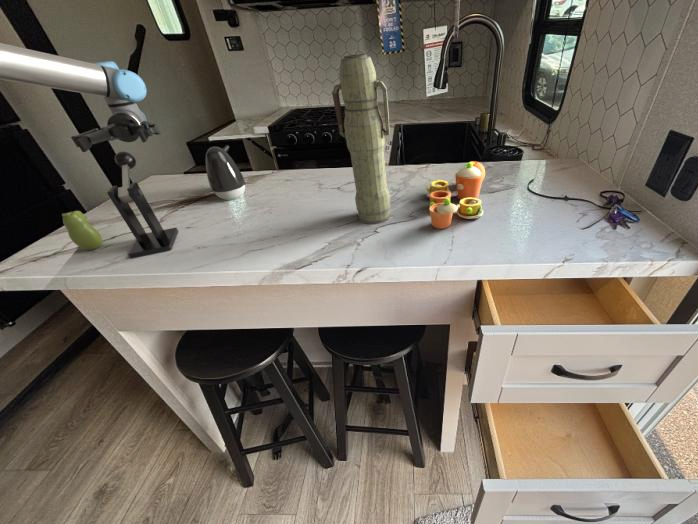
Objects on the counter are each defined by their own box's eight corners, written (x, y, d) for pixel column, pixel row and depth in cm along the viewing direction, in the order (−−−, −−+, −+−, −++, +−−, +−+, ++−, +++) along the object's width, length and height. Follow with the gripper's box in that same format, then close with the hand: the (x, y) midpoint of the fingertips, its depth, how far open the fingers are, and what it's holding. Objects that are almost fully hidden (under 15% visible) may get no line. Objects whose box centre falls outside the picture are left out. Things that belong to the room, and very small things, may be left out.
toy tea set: (426, 191, 101) (426, 157, 95) (479, 189, 100) (481, 155, 93) (424, 232, 81) (423, 193, 75) (489, 231, 79) (494, 191, 73)
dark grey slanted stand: (141, 238, 89) (107, 183, 80) (178, 231, 91) (149, 176, 82) (130, 258, 81) (90, 199, 72) (171, 250, 83) (137, 191, 74)
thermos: (355, 210, 94) (330, 56, 72) (397, 208, 93) (385, 51, 71) (350, 224, 87) (321, 59, 65) (395, 222, 86) (382, 54, 64)
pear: (79, 255, 84) (50, 218, 78) (83, 246, 88) (56, 210, 81) (105, 249, 86) (79, 212, 79) (108, 240, 89) (83, 205, 83)
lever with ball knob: (121, 162, 84) (110, 149, 80) (139, 159, 85) (129, 146, 81) (122, 206, 79) (110, 195, 75) (141, 203, 80) (130, 191, 76)
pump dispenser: (256, 192, 110) (239, 142, 101) (232, 204, 103) (211, 153, 94) (233, 189, 114) (215, 141, 104) (209, 201, 107) (186, 150, 97)
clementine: (466, 192, 98) (468, 167, 94) (453, 185, 103) (454, 161, 99) (488, 186, 101) (491, 161, 96) (474, 179, 106) (476, 156, 101)
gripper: (176, 132, 108) (172, 147, 92) (86, 147, 101) (64, 166, 85) (164, 106, 103) (157, 117, 88) (68, 119, 96) (42, 134, 81)
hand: (111, 141), depth 87 cm, fingers open, 13 cm apart
